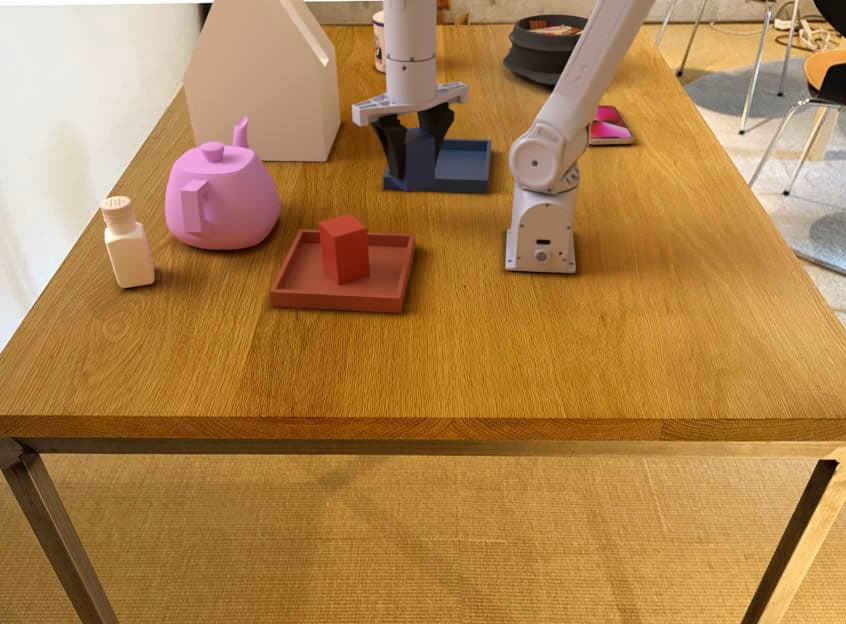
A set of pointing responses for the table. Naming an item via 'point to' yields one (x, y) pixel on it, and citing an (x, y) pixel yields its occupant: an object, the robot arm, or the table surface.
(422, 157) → the blue block
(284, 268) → the red tray
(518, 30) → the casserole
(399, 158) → the robot arm
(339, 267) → the red block
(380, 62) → the teacup with lid
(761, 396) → the table surface
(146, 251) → the pepper shaker
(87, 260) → the table surface
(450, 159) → the blue tray
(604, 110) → the smartphone
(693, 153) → the table surface
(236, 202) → the teapot
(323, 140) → the milk carton
